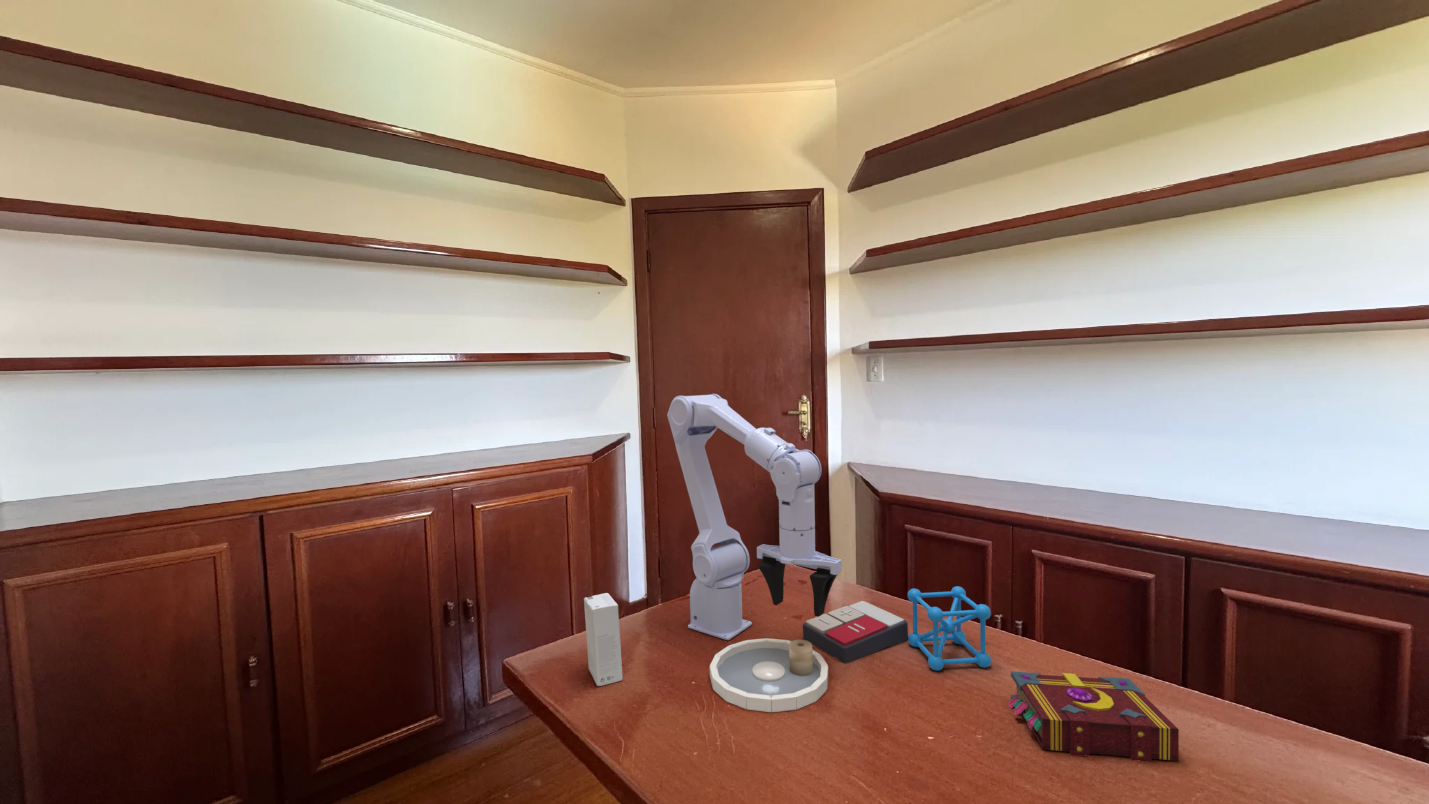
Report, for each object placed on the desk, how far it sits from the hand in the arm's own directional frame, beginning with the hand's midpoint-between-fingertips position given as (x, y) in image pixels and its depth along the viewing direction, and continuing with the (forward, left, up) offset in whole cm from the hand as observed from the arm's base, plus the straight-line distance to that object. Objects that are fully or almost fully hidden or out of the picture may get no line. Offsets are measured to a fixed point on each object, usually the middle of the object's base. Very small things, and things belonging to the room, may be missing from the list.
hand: (798, 608), depth 91 cm
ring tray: (-2, -7, -9) cm, 11 cm away
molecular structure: (+19, +15, -9) cm, 26 cm away
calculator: (+4, +12, -9) cm, 16 cm away
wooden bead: (+2, -3, -8) cm, 9 cm away
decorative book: (+39, +5, -9) cm, 40 cm away
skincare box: (-24, -21, -9) cm, 33 cm away
